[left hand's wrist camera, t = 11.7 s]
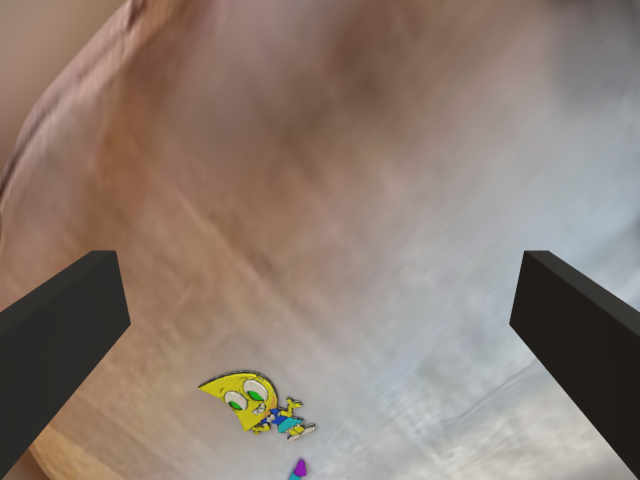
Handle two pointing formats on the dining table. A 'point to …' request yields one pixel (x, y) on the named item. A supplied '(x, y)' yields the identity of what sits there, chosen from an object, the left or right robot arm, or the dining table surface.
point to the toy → (256, 403)
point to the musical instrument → (298, 471)
